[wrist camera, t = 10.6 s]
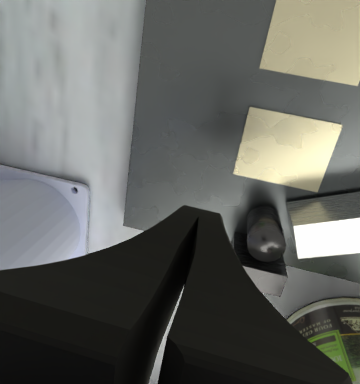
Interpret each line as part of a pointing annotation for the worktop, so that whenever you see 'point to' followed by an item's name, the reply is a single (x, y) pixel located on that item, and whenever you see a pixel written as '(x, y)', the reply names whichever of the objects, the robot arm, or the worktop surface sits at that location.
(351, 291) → the worktop surface
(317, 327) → the coffee can
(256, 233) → the swing bar
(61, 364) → the robot arm
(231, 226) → the chassis tray
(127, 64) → the worktop surface
